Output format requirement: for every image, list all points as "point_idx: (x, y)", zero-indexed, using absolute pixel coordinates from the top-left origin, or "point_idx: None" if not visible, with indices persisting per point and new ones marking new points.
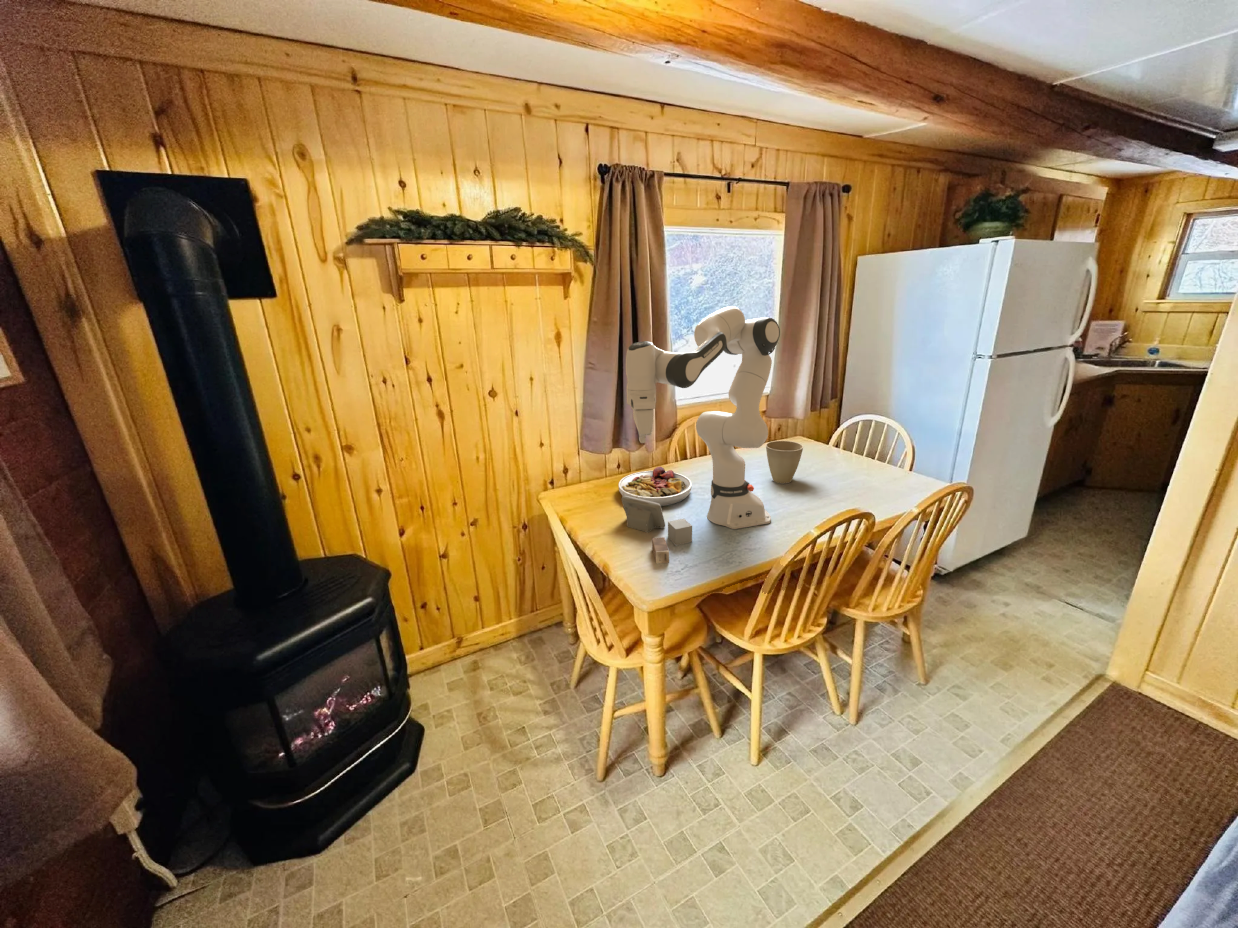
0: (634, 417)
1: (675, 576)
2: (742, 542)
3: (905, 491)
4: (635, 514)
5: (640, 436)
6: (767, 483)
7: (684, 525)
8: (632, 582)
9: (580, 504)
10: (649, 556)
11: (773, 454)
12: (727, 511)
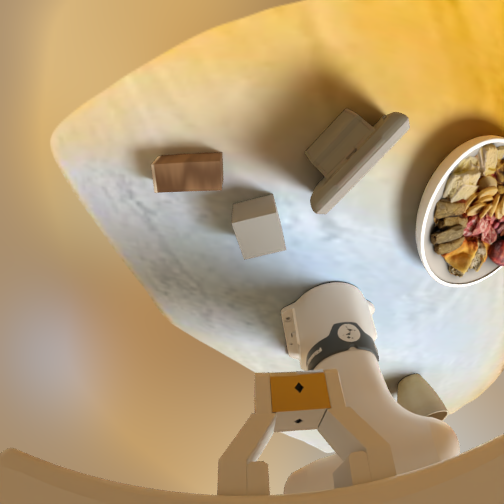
0: (486, 498)
1: (114, 188)
2: (231, 311)
3: (323, 441)
4: (348, 137)
5: (243, 428)
6: (411, 368)
7: (248, 244)
8: (93, 108)
9: (476, 34)
10: (188, 143)
11: (420, 410)
12: (299, 326)
